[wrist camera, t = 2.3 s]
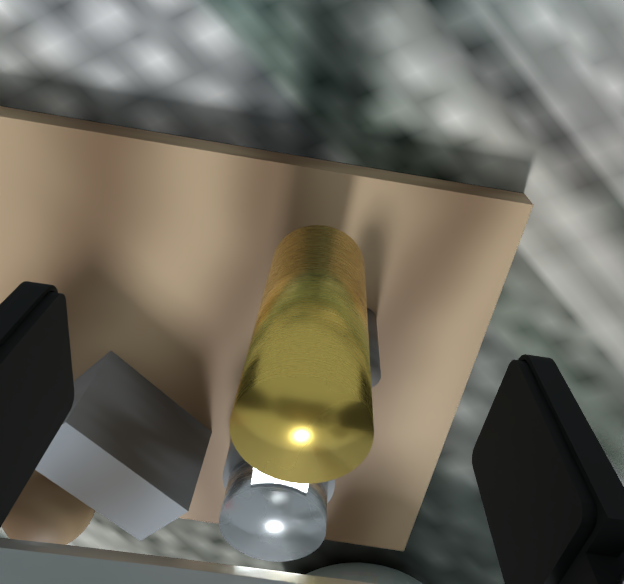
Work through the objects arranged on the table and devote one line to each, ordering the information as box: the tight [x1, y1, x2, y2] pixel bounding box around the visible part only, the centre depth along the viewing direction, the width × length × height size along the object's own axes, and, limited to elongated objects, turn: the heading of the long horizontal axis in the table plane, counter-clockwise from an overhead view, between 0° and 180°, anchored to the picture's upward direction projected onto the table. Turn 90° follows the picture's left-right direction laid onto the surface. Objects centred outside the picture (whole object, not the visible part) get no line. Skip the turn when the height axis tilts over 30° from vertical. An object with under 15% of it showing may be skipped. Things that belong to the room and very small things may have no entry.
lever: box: [219, 225, 374, 562], centre depth 18 cm, size 16×4×9 cm, turn 171°
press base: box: [0, 106, 533, 551], centre depth 23 cm, size 20×20×6 cm
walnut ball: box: [2, 470, 95, 545], centre depth 25 cm, size 4×4×4 cm
